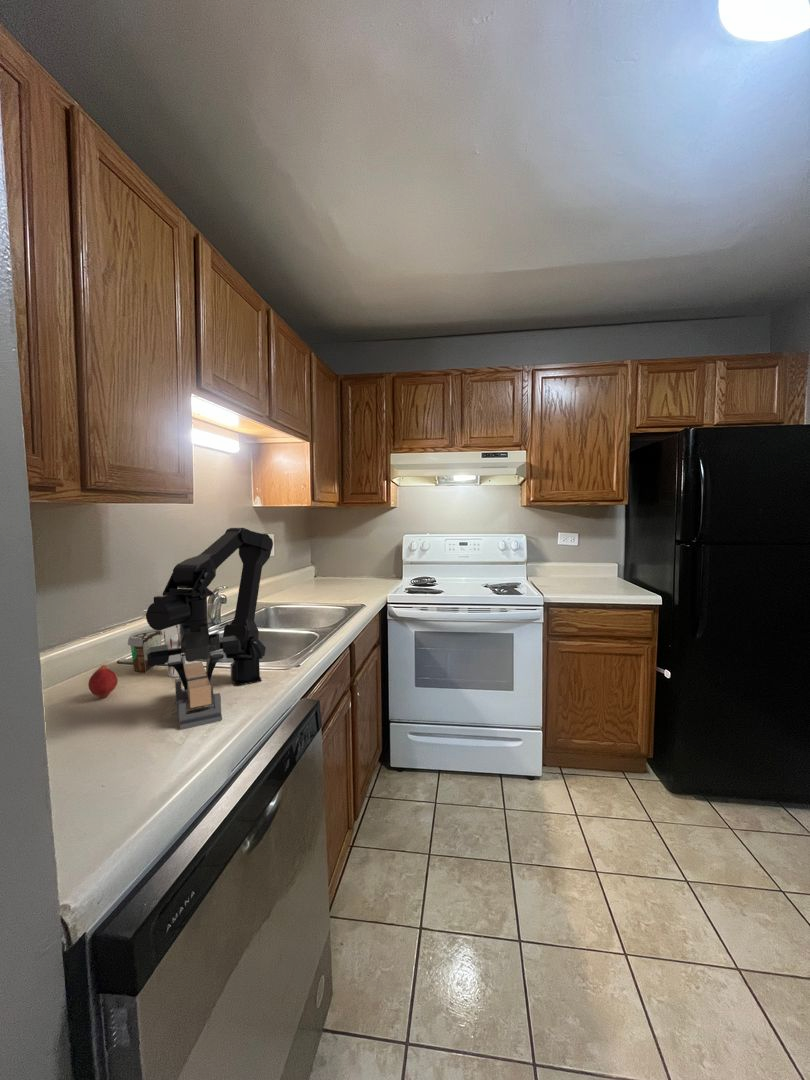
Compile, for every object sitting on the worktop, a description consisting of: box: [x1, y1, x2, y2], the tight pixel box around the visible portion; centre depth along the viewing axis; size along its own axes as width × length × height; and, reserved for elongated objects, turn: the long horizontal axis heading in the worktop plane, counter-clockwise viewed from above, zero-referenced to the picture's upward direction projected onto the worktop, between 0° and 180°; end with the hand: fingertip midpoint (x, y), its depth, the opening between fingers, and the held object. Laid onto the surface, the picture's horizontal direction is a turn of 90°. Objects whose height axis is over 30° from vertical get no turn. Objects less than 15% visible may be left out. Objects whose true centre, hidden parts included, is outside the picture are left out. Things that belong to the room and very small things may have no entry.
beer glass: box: [163, 624, 191, 678], centre depth 126 cm, size 7×7×15 cm
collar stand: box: [174, 675, 223, 731], centre depth 103 cm, size 8×18×5 cm, turn 29°
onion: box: [87, 664, 118, 699], centre depth 110 cm, size 6×6×8 cm
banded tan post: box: [184, 661, 211, 708], centre depth 103 cm, size 4×18×4 cm, turn 29°
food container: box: [127, 628, 163, 674], centre depth 131 cm, size 12×6×10 cm, turn 4°
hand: (196, 687), depth 103 cm, fingers closed on banded tan post, 4 cm apart
